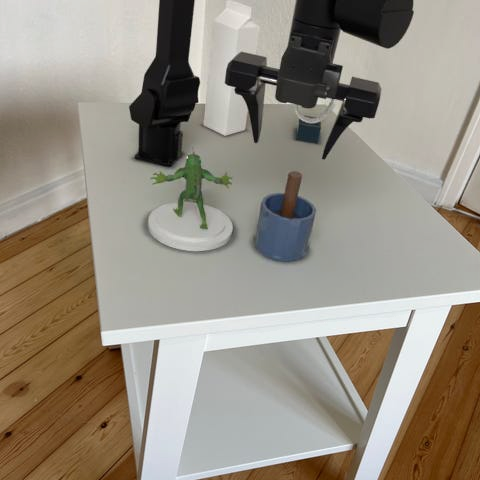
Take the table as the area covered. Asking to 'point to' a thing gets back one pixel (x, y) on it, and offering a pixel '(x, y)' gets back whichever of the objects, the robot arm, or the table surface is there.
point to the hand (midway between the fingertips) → (289, 150)
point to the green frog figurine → (190, 212)
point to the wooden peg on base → (290, 196)
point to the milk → (222, 52)
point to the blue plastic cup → (283, 229)
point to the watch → (311, 124)
